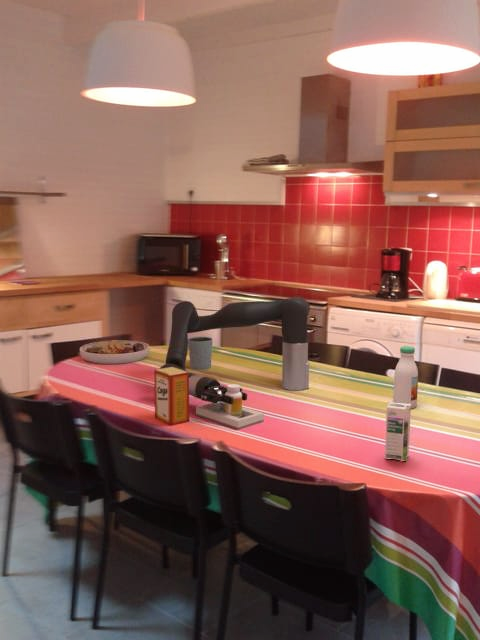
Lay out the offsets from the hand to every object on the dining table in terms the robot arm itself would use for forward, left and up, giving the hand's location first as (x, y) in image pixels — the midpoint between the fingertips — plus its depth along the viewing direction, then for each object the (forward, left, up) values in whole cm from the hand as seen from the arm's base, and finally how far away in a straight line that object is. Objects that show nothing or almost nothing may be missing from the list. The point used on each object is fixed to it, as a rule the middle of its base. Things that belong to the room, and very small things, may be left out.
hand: (239, 399), depth 207 cm
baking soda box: (+20, -5, -7) cm, 22 cm away
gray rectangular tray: (+2, -4, -7) cm, 9 cm away
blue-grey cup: (+4, -72, -7) cm, 73 cm away
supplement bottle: (+1, -2, -6) cm, 7 cm away
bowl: (+39, -96, -8) cm, 104 cm away
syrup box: (-37, +36, -7) cm, 52 cm away
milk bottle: (-58, -8, -7) cm, 59 cm away
